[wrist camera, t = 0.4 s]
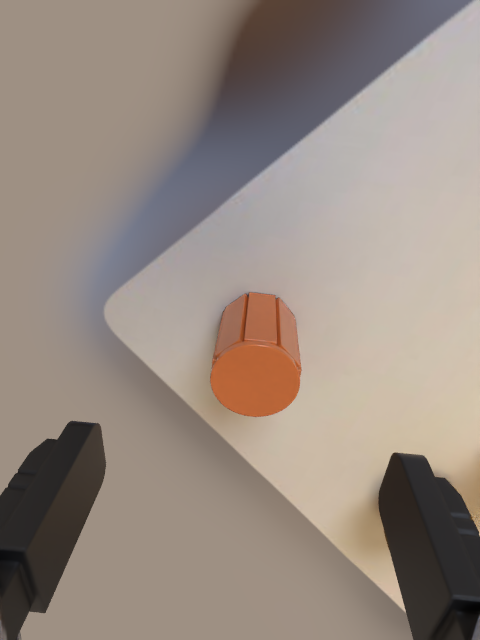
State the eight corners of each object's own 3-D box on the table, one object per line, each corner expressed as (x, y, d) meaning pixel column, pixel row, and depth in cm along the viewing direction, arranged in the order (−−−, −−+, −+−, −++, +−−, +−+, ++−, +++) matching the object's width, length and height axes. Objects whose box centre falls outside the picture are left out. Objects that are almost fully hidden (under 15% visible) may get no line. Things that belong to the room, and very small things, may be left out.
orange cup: (225, 289, 33) (213, 339, 26) (299, 297, 33) (307, 350, 26) (219, 351, 36) (207, 411, 29) (287, 359, 36) (292, 421, 29)
